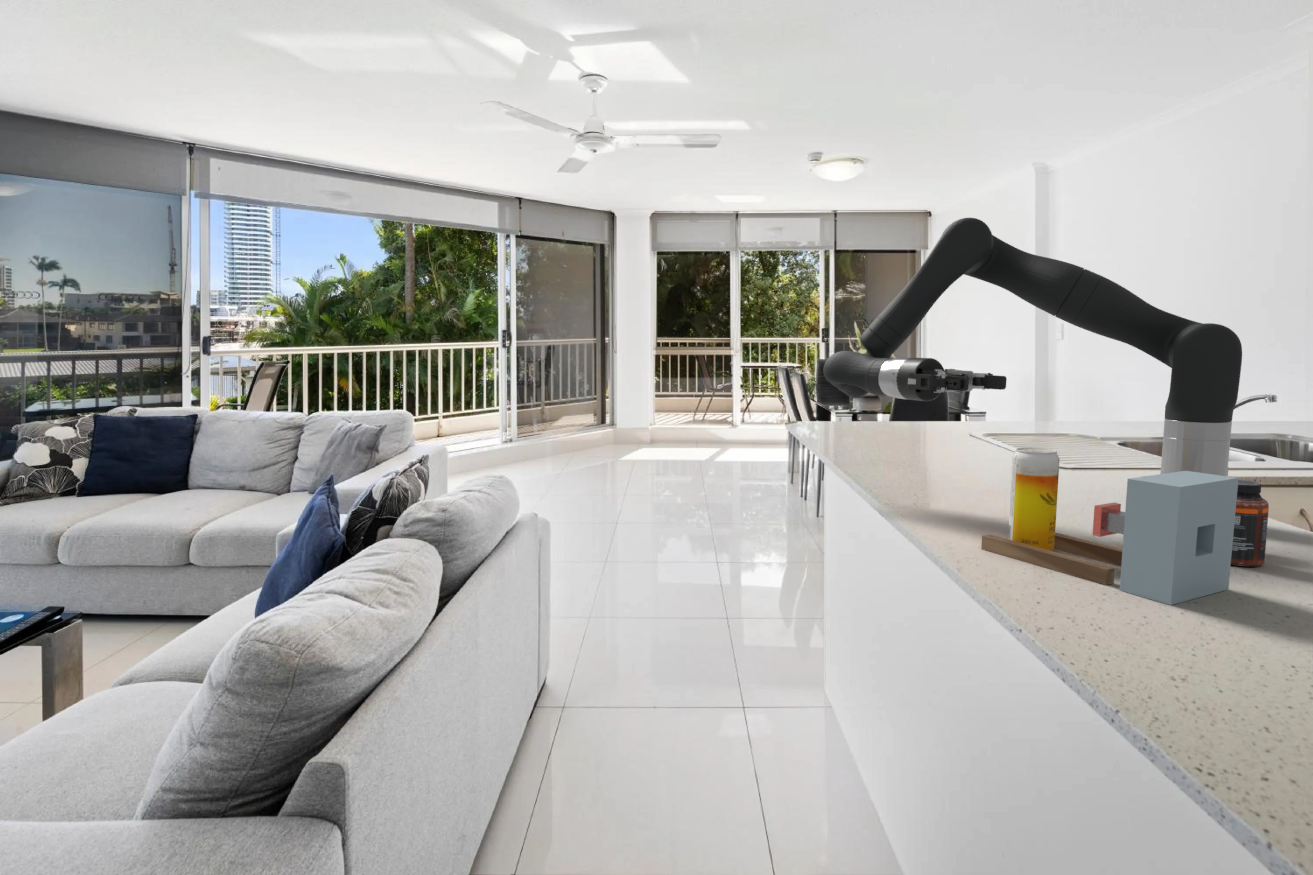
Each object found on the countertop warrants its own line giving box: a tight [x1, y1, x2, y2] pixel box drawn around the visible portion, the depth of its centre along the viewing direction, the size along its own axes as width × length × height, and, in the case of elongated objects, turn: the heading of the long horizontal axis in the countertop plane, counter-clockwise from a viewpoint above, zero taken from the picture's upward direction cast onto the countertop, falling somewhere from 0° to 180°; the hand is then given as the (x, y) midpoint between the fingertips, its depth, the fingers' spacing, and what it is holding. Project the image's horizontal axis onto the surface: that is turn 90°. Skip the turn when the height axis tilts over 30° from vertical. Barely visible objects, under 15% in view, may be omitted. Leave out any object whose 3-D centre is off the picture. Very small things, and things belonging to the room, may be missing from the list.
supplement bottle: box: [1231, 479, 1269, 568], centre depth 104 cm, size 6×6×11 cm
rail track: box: [980, 532, 1123, 586], centre depth 106 cm, size 11×19×2 cm, turn 26°
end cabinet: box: [1119, 471, 1240, 606], centre depth 92 cm, size 12×6×14 cm, turn 116°
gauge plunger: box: [1092, 502, 1125, 538], centre depth 96 cm, size 4×10×4 cm, turn 26°
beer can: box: [1007, 446, 1061, 551], centre depth 110 cm, size 6×6×15 cm
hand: (986, 383), depth 120 cm, fingers open, 8 cm apart
